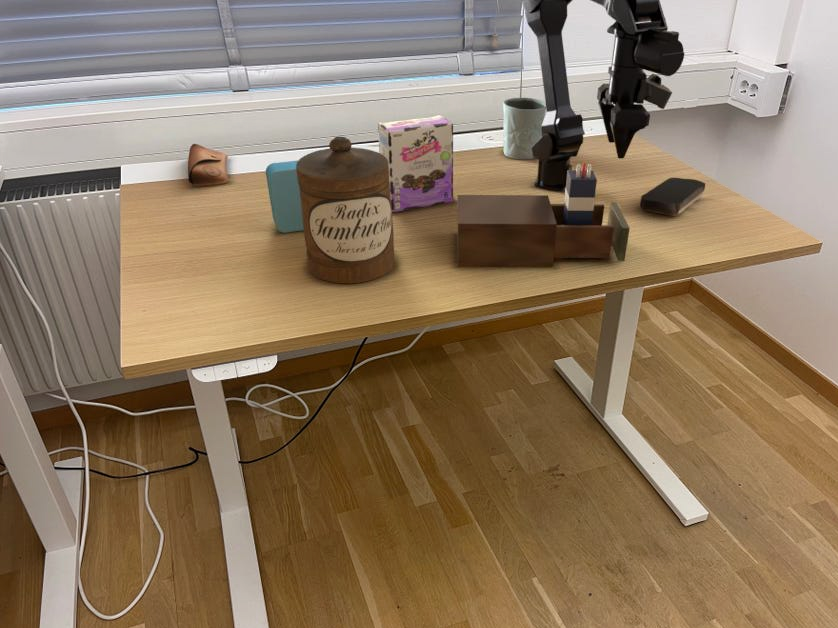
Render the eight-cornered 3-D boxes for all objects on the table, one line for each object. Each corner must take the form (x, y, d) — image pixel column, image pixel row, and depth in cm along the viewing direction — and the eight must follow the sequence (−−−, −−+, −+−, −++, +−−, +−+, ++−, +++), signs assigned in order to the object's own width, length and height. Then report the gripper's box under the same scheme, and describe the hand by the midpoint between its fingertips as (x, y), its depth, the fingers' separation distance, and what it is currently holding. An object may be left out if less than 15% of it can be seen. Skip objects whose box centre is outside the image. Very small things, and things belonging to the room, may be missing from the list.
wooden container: (319, 291, 114) (302, 158, 101) (300, 252, 125) (283, 128, 112) (406, 275, 119) (400, 147, 106) (380, 239, 130) (373, 119, 117)
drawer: (618, 233, 132) (623, 201, 129) (631, 261, 123) (636, 228, 120) (530, 232, 132) (532, 201, 128) (536, 260, 122) (539, 227, 119)
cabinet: (544, 235, 133) (548, 195, 128) (552, 267, 123) (556, 224, 118) (457, 235, 132) (457, 194, 128) (458, 266, 122) (458, 223, 117)
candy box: (391, 213, 140) (387, 130, 130) (381, 203, 144) (376, 122, 134) (454, 202, 145) (454, 122, 136) (442, 192, 149) (441, 113, 140)
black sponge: (674, 222, 139) (677, 205, 137) (635, 211, 143) (638, 194, 141) (705, 198, 150) (709, 182, 148) (668, 188, 154) (671, 172, 152)
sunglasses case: (231, 181, 150) (209, 156, 146) (205, 199, 151) (182, 175, 147) (228, 153, 164) (208, 130, 160) (204, 171, 165) (183, 148, 161)
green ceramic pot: (503, 145, 175) (505, 96, 168) (544, 148, 174) (548, 98, 167) (499, 159, 167) (501, 107, 160) (541, 162, 166) (545, 110, 159)
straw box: (560, 235, 128) (568, 156, 120) (585, 235, 129) (594, 156, 120) (564, 246, 125) (572, 165, 116) (589, 246, 125) (599, 165, 116)
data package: (336, 216, 138) (329, 156, 131) (341, 225, 135) (334, 164, 128) (273, 224, 134) (264, 163, 127) (277, 234, 131) (267, 172, 124)
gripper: (686, 77, 118) (669, 167, 127) (659, 53, 134) (646, 135, 143) (621, 76, 118) (609, 167, 127) (601, 52, 133) (592, 134, 142)
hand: (616, 150), depth 135 cm, fingers open, 9 cm apart
